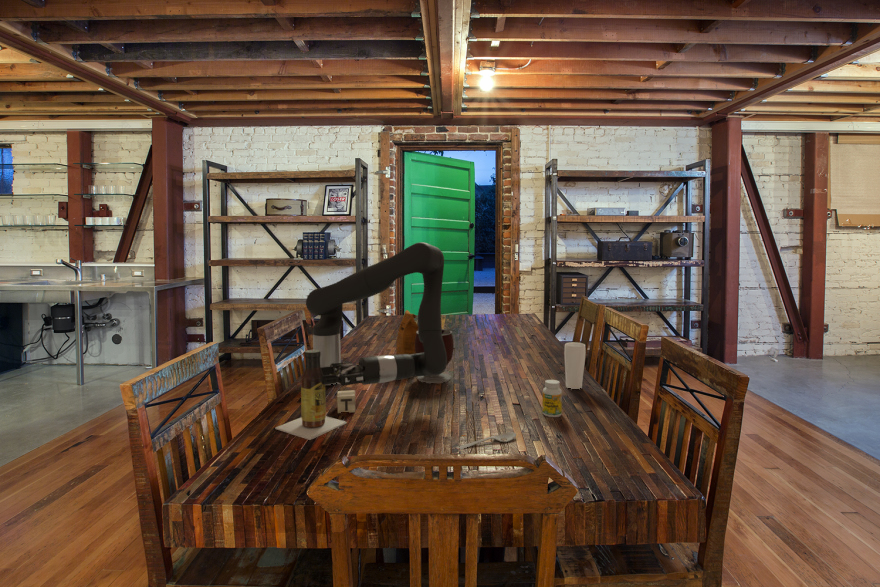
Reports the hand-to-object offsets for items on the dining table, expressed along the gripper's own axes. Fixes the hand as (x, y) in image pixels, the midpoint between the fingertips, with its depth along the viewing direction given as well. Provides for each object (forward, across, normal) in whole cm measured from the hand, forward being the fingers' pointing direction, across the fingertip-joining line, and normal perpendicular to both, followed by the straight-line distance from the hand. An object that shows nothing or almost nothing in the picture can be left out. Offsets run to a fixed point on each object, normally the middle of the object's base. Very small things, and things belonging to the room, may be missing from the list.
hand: (318, 376), depth 124 cm
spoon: (-33, +28, +14) cm, 46 cm away
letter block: (-9, -9, +14) cm, 19 cm away
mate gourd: (-46, -27, +14) cm, 55 cm away
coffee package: (-43, -46, +14) cm, 65 cm away
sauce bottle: (+2, 0, +13) cm, 13 cm away
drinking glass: (-84, +2, +14) cm, 85 cm away
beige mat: (+2, 0, +13) cm, 14 cm away
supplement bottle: (-62, +19, +14) cm, 66 cm away
